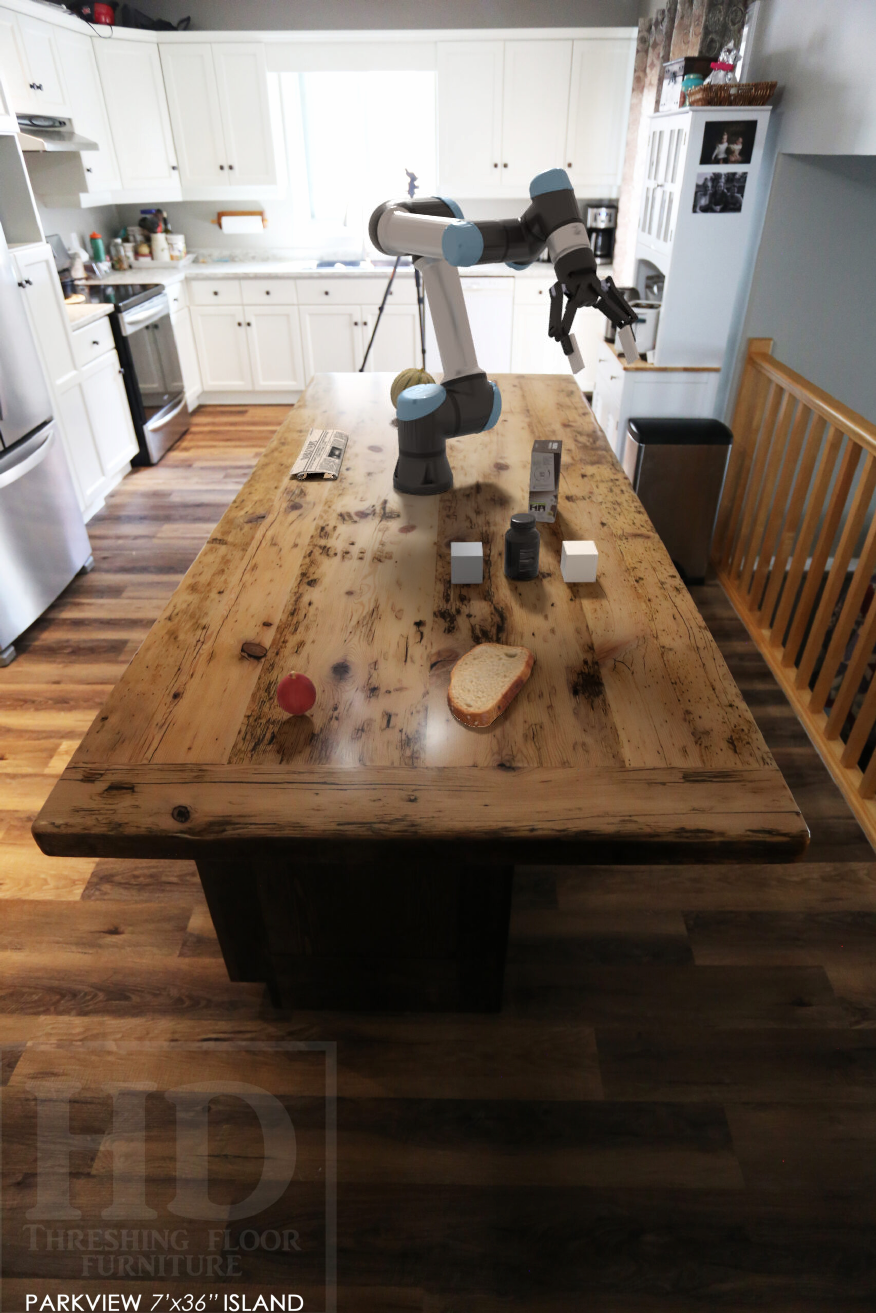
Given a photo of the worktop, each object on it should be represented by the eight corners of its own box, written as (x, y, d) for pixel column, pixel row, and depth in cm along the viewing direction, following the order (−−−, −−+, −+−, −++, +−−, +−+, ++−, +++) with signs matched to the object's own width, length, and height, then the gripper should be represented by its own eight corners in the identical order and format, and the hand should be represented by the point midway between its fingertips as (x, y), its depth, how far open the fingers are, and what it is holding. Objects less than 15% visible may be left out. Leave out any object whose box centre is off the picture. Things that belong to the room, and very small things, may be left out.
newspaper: (337, 481, 196) (336, 468, 194) (289, 482, 195) (287, 469, 194) (349, 437, 225) (348, 425, 223) (307, 438, 225) (305, 426, 223)
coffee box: (555, 523, 171) (560, 453, 162) (526, 521, 172) (530, 451, 163) (558, 507, 178) (563, 439, 169) (530, 505, 179) (534, 438, 170)
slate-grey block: (451, 584, 148) (451, 556, 145) (451, 569, 153) (451, 542, 150) (482, 583, 148) (482, 555, 144) (481, 569, 153) (481, 542, 149)
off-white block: (564, 582, 148) (566, 554, 144) (560, 568, 153) (562, 541, 149) (595, 582, 148) (598, 554, 144) (590, 568, 153) (593, 540, 149)
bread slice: (466, 734, 110) (466, 714, 108) (419, 670, 124) (418, 651, 122) (572, 703, 116) (574, 683, 114) (515, 645, 130) (516, 626, 128)
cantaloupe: (384, 414, 242) (382, 365, 234) (426, 408, 247) (425, 359, 239) (402, 426, 231) (400, 375, 223) (446, 420, 236) (445, 370, 228)
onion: (281, 703, 117) (274, 660, 112) (319, 701, 117) (314, 658, 112) (278, 727, 112) (270, 683, 107) (317, 725, 112) (311, 681, 108)
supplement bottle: (541, 568, 152) (545, 512, 146) (533, 584, 147) (537, 526, 140) (508, 564, 154) (510, 508, 148) (499, 579, 149) (501, 522, 142)
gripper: (529, 249, 133) (566, 365, 134) (634, 240, 144) (668, 348, 145) (507, 273, 140) (543, 384, 141) (609, 263, 151) (642, 366, 152)
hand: (607, 366), depth 143 cm, fingers open, 13 cm apart
